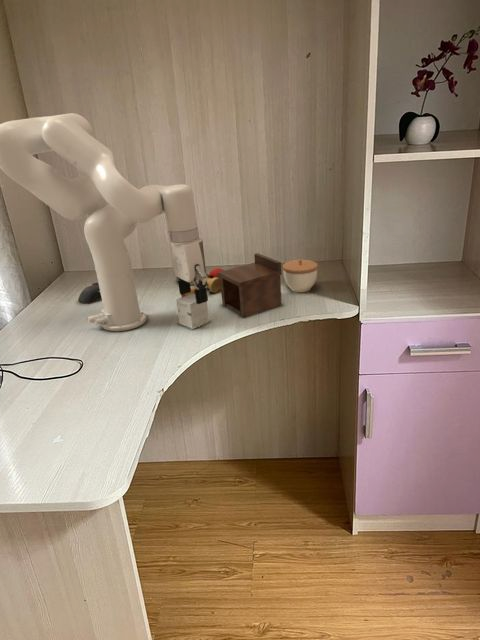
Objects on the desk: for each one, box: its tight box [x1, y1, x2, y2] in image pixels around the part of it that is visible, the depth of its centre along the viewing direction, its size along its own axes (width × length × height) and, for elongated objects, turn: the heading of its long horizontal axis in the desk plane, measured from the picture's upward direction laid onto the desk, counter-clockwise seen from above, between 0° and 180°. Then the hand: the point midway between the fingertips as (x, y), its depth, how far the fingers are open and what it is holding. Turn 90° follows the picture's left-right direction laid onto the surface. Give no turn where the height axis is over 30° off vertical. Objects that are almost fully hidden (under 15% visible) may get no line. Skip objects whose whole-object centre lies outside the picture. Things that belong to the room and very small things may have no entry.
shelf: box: [218, 252, 283, 318], centre depth 152 cm, size 14×12×13 cm
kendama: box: [180, 267, 224, 298], centre depth 166 cm, size 8×6×18 cm
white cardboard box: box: [176, 294, 210, 330], centre depth 145 cm, size 6×6×7 cm
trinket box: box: [282, 258, 319, 293], centre depth 163 cm, size 11×11×9 cm
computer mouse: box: [77, 282, 102, 304], centre depth 172 cm, size 12×18×4 cm
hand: (193, 297), depth 143 cm, fingers open, 9 cm apart
